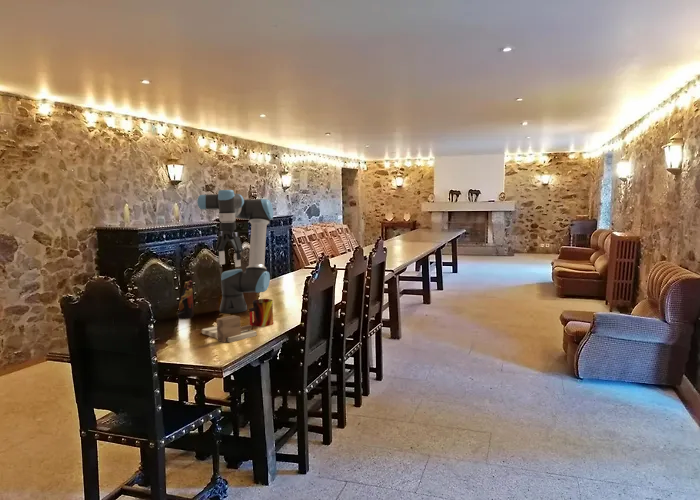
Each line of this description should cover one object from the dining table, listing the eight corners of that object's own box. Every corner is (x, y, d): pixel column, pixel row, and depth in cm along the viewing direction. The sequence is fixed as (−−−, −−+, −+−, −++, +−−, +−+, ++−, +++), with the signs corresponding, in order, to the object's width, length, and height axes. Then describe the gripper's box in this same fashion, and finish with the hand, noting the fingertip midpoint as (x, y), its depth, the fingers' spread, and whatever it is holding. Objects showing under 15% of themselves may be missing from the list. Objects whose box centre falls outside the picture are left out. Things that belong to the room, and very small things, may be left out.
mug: (249, 329, 237) (248, 304, 236) (256, 322, 251) (255, 298, 250) (269, 328, 237) (268, 304, 236) (274, 321, 251) (274, 298, 249)
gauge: (217, 340, 218) (216, 318, 217) (247, 332, 229) (247, 312, 228) (223, 342, 214) (222, 320, 213) (254, 334, 226) (253, 313, 225)
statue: (182, 315, 271) (180, 279, 269) (196, 315, 271) (194, 279, 269) (174, 320, 259) (172, 282, 257) (189, 320, 259) (187, 282, 257)
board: (201, 333, 231) (201, 329, 231) (227, 327, 241) (227, 323, 241) (230, 342, 215) (230, 337, 214) (256, 335, 225) (256, 331, 225)
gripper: (206, 221, 243) (209, 264, 246) (235, 223, 226) (238, 268, 229) (220, 220, 249) (222, 262, 251) (249, 222, 232) (251, 266, 234)
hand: (230, 265), depth 240 cm, fingers open, 13 cm apart
